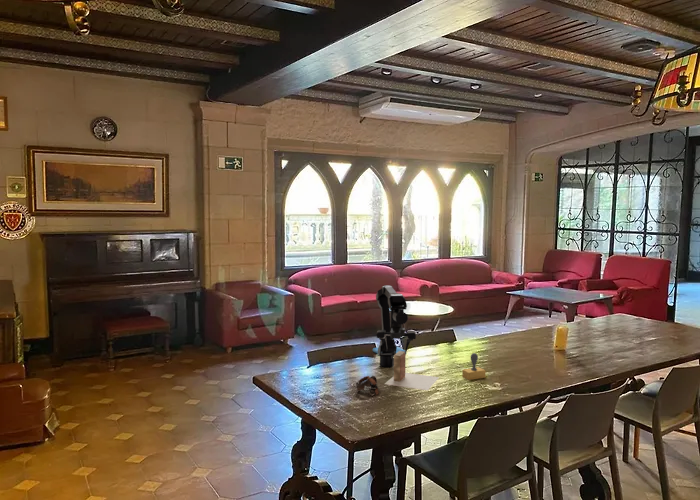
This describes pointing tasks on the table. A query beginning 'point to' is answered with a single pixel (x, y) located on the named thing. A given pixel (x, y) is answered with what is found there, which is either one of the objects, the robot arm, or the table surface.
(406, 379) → the grey rubber mat
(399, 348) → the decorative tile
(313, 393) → the table surface
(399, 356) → the oak tile
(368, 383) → the brown arched piece
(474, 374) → the rubber stamp
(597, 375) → the table surface
